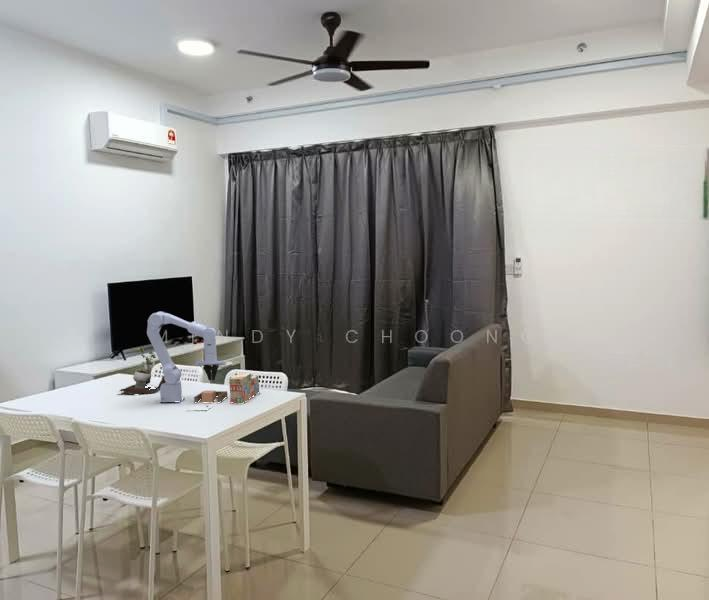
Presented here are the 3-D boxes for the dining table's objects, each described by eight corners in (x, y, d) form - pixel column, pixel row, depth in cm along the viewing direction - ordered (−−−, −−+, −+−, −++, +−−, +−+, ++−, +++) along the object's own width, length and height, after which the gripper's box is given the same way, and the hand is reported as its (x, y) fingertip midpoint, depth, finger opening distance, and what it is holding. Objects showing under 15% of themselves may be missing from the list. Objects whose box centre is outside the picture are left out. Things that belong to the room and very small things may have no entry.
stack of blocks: (247, 393, 283) (246, 369, 282) (259, 393, 282) (258, 369, 281) (230, 403, 262) (229, 378, 261) (242, 404, 261) (241, 378, 260)
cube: (202, 403, 264) (201, 393, 264) (205, 400, 269) (205, 390, 269) (212, 403, 264) (211, 393, 263) (215, 400, 269) (215, 390, 268)
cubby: (194, 403, 265) (194, 397, 264) (203, 397, 276) (202, 391, 276) (219, 403, 263) (219, 396, 263) (227, 397, 275) (227, 391, 274)
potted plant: (131, 391, 305) (144, 347, 307) (164, 399, 304) (176, 354, 306) (115, 393, 285) (128, 346, 287) (150, 402, 284) (163, 354, 286)
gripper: (227, 351, 273) (228, 378, 274) (199, 351, 275) (200, 378, 276) (222, 353, 266) (224, 381, 267) (193, 353, 268) (195, 381, 269)
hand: (211, 380), depth 271 cm, fingers closed
